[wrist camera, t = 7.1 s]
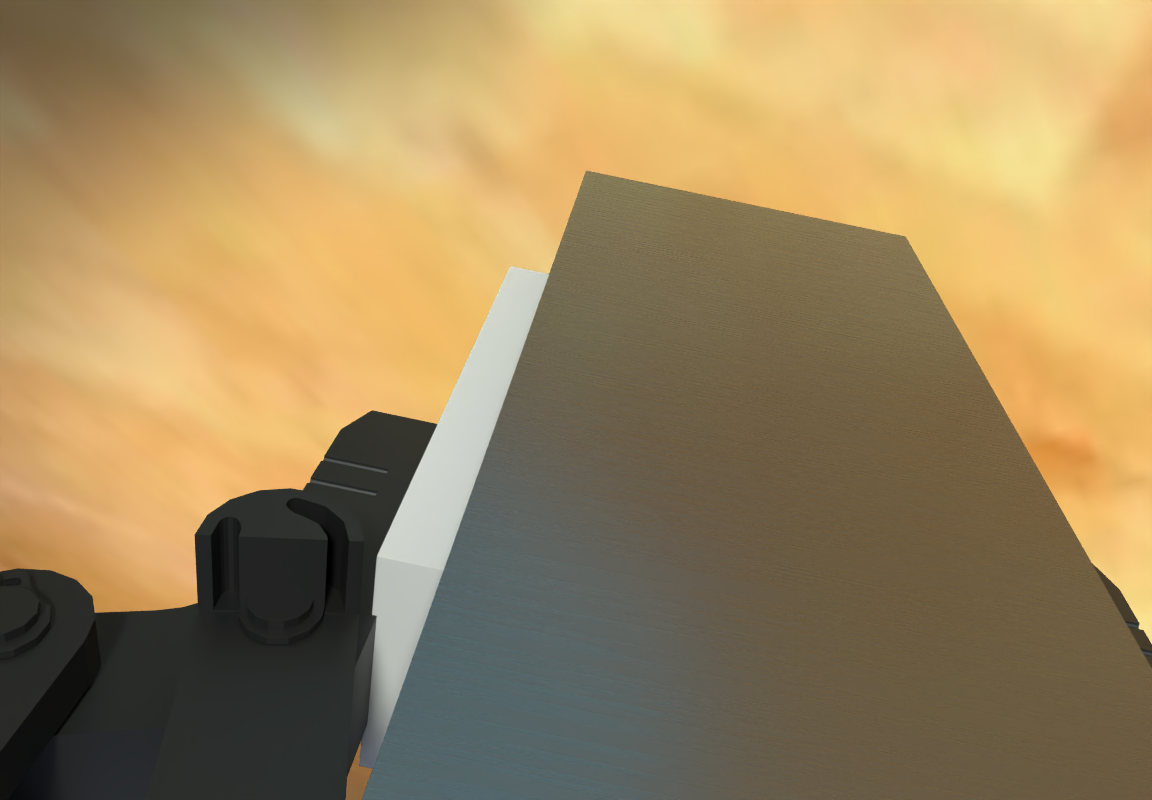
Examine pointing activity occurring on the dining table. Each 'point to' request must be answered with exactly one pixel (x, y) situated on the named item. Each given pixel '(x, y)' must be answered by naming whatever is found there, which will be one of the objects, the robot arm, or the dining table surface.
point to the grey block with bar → (759, 544)
